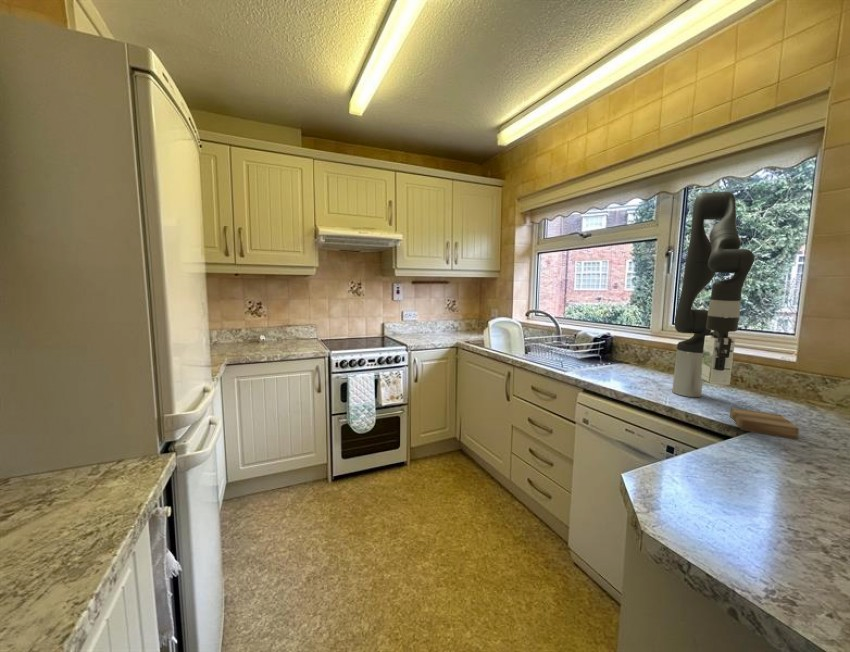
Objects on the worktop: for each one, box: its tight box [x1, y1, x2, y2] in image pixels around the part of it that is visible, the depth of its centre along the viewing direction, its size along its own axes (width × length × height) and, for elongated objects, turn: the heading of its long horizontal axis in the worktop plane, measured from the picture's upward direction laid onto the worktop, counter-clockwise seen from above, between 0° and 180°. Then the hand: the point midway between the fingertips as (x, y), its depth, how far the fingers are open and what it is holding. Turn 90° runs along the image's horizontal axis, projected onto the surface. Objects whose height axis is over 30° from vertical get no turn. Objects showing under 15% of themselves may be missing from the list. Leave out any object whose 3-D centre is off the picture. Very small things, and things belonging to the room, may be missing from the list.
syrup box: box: [700, 336, 736, 386], centre depth 111 cm, size 6×6×14 cm
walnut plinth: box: [729, 407, 800, 440], centre depth 107 cm, size 12×12×3 cm
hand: (716, 367), depth 112 cm, fingers closed on syrup box, 6 cm apart
